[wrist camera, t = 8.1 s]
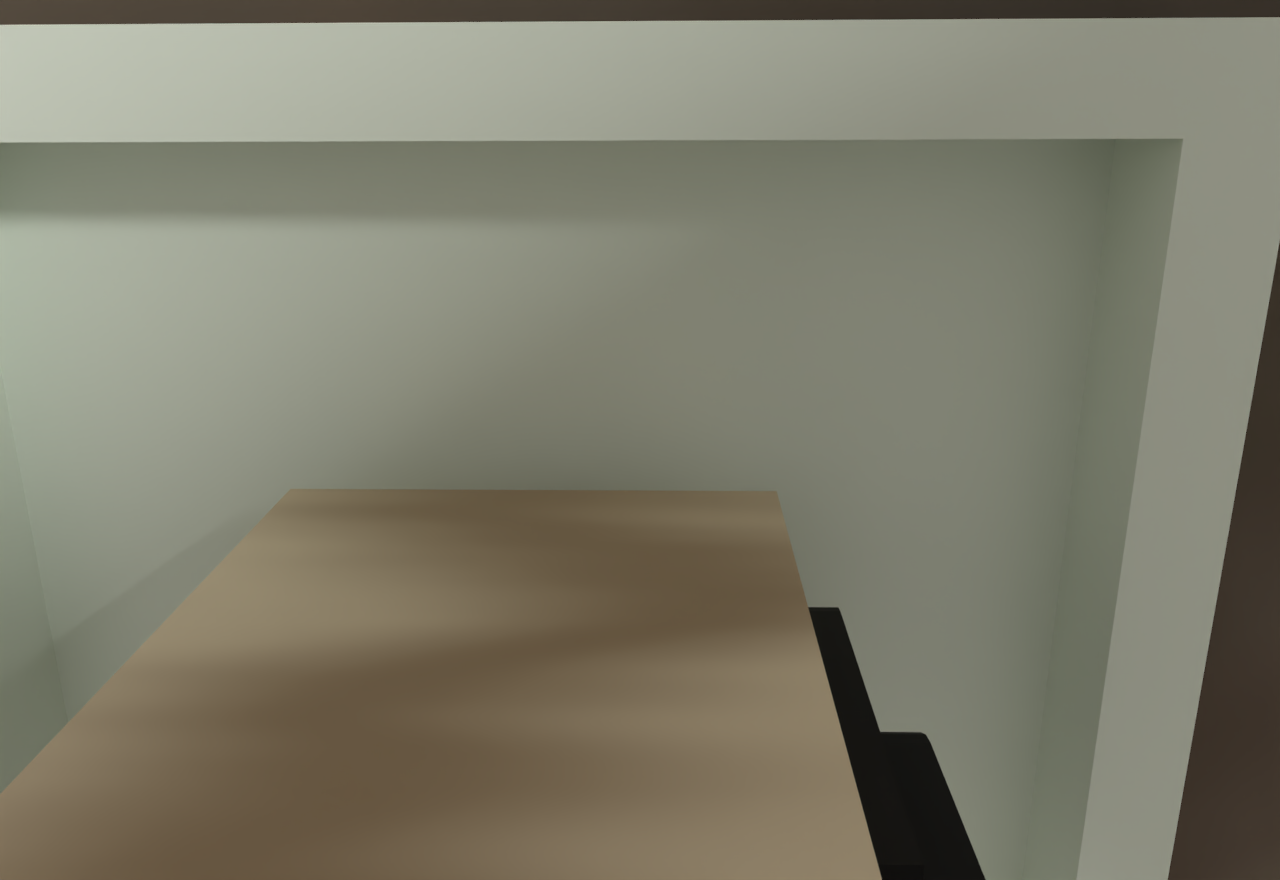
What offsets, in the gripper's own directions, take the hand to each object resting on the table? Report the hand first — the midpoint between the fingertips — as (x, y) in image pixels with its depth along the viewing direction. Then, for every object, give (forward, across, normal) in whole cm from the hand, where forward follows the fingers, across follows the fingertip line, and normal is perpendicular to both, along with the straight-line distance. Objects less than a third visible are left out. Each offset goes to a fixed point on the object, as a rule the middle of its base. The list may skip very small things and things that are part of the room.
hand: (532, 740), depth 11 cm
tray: (+3, 0, 0) cm, 3 cm away
